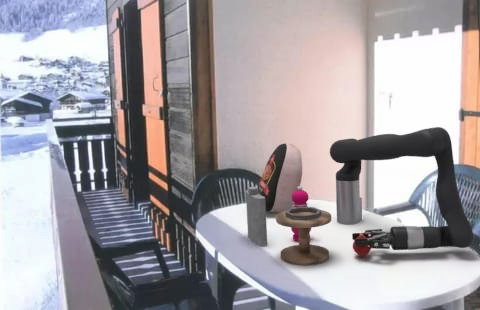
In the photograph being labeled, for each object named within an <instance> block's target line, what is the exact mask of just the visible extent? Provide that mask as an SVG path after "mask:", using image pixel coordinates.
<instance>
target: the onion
mask: <svg viewBox="0 0 480 310" xmlns="http://www.w3.org/2000/svg"><path fill="white" fill-rule="evenodd" d="M359 233H360V236H359V237H357V238H356V239H361V238H366V237H365V236H364V235H363V234H362V233H363V232H359ZM366 239H367V238H366ZM352 250H353V251H354V252H355V253H356V254H357V256H359V257H360V258H364V257H366V256H367V255H368V254H370V252H371V250H372V248H370V247H368V246H356V245H355V240H353V243H352Z"/></svg>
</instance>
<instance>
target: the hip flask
mask: <svg viewBox="0 0 480 310" xmlns="http://www.w3.org/2000/svg"><path fill="white" fill-rule="evenodd" d="M258 187H259V186H258ZM258 187H257V186H250V187H248V188H247V189H246V190H245V201H246V203H245V204H246V221H247V237H248V239H250V240H249V241H251V242H252V243H254V244H255V245H256V246H258V247H260V248H262V247H267V246H268V231H267V230H268V228H267V211H266V204H265V197H263V196H261V195H259V194H258Z"/></svg>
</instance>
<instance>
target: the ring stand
mask: <svg viewBox="0 0 480 310" xmlns="http://www.w3.org/2000/svg"><path fill="white" fill-rule="evenodd" d="M331 221H332V214H331V213H330V212H328V211H327V210H323V209H319V208H317V207H313V206H307V207H296V208H294V207H292V208H291V209H288V210H287V211H283V212H280V213H276V215H275V222H276V223H277V224H278V225H280V226H283V227H286V228H291V227H292V228H298V231H299V242H298V244H296V245H290V246H287V247H284V248H282V249H281V251H280V259H281V260H282V261H284V262H285V263H286V264H291V265H298V266H311V265H312V264H313V265H318V264H322V263H324V262H326V261H328V260H329V259H330V251H329V250H328V248H326V247H323V246H321V245H317V244H316V245H315V244H311V233H310V232H311V231H310V232H309V228H311V229H312V228H317V227H323V226H326V225H328V224H330V223H331Z"/></svg>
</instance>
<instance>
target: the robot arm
mask: <svg viewBox="0 0 480 310" xmlns="http://www.w3.org/2000/svg"><path fill="white" fill-rule="evenodd" d="M329 155H330V158H331V159H332V160H333V161H334V162H335V163H337V164H343V166H342V167H341V168H340V169H339V170H338V171H336V173H335V192H336V194H335V195H336V196H335V197H336V198H335V199H336V222H337V223H338V224H344V225H354V224H359V223H360V222H362V221H363V198H362V197H361V195H360V194H361V191H360V186H361V185H360V175H361V172H362V161H387V160H396V159H399V158H402V157H418V158H419V157H420V158H429V157H434V159H435V162H436V164H437V165H436V166H437V179H436V186H435V197H436V201H437V205H438V209H439V212H440V215H441V217H442V218H443V219H444V220H445V221H446V225H443V226H429V225H428V226H416V225H407V226H406V225H402V226H401V225H400V226H392V227H391V228H390V229H389V232H388V231H386V230H383V229H382V228H377V229H367V230H364V232H353V233H352V235H351V236H352V237H351V238H352V240H353V241H354V240H355V245H356V246H368V247H370V248H371V249H374V250H375V249H379V250H380V249H381V250H390V248H391V250H393V251H407V250H408V251H411V250H422V249H437V248H439V247H441V248H458V249H459V248H461V249H465V248H468V247H470V246H471V245H472V244H473V241H474V231H473V229H472V226H471V224H470V221H469V219H468V217H467V215H466V213H465V211H464V206H463V204H462V203H463V202H462V199H461V197H460V192H459V189H458V185H457V180H456V179H457V178H456V170H455V161H454V155H453V146H452V140H451V137H450V134H449V132H448V131H447V130H446V129H445V128H443V127H441V126H440V127H439V126H438V127H437V126H436V127H428V128H424V129H420V130H417V131H414V132H413V131H412V132H410V133H405V134H395V133H384V134H377V135H372V136H367V137H364V138H360V139H356V138H345V139H339V140H336V141H333V142H332V144H331V146H330V148H329ZM360 233H362V234H363V235H364V236H365V237H366V238H367V239H366V238H361V239H356V238H357V237H359V236H360Z"/></svg>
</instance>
